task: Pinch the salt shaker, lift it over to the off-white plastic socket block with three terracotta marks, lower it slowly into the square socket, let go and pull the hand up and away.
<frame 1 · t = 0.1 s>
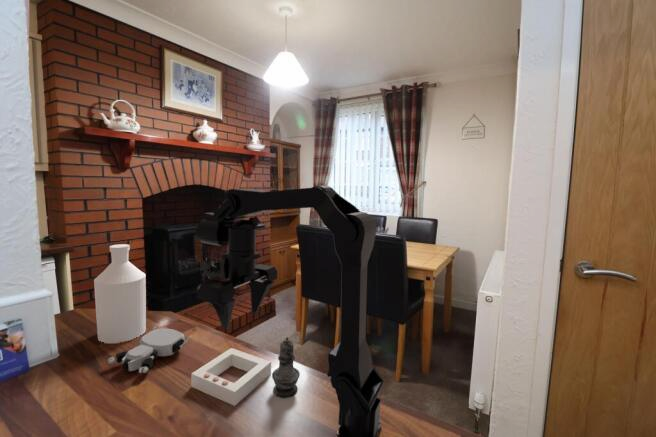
hand: (240, 319, 68), 15 cm above the table, tool pointing down, fingers open, 9 cm apart
socket block: (232, 380, 70), on the table
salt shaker: (285, 390, 68), on the table
bottle: (122, 333, 89), on the table
robot toy: (152, 359, 77), on the table
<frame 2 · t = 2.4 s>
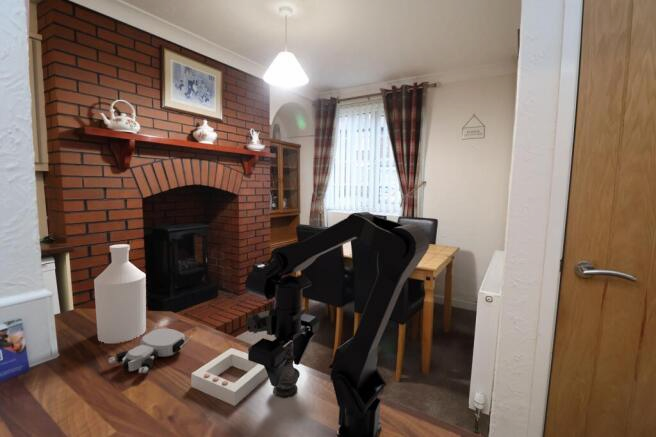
hand: (285, 374, 67), 4 cm above the table, tool pointing down, fingers closed on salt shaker, 8 cm apart
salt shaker: (285, 390, 68), on the table, touching gripper
everything else where it was.
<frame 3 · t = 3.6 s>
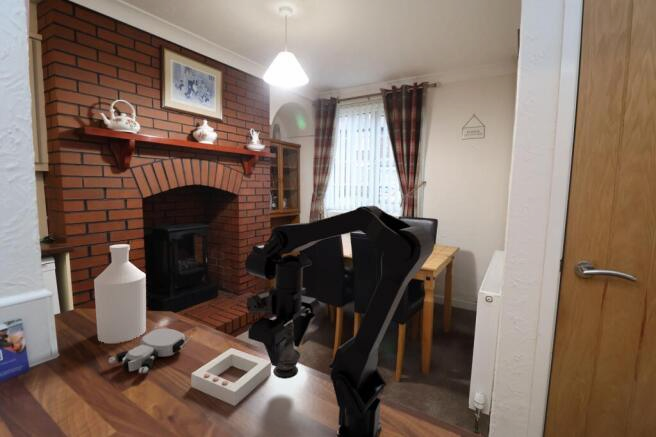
hand: (286, 355, 67), 8 cm above the table, tool pointing down, fingers closed on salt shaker, 8 cm apart
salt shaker: (285, 371, 67), point 4 cm above the table, touching gripper
everything else where it was.
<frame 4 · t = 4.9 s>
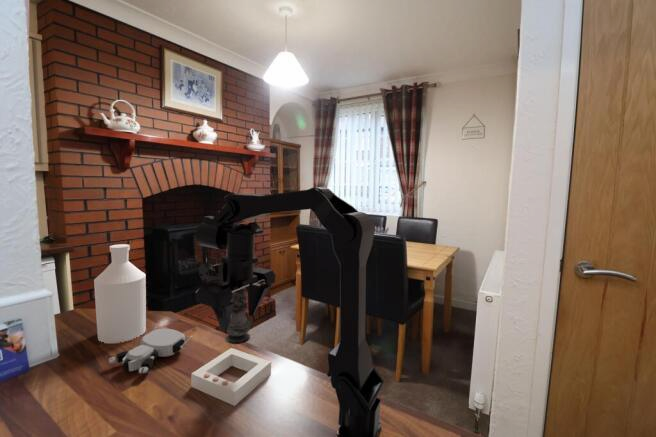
hand: (238, 322, 69), 13 cm above the table, tool pointing down, fingers closed on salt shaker, 8 cm apart
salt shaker: (238, 338, 69), point 10 cm above the table, touching gripper
everything else where it was.
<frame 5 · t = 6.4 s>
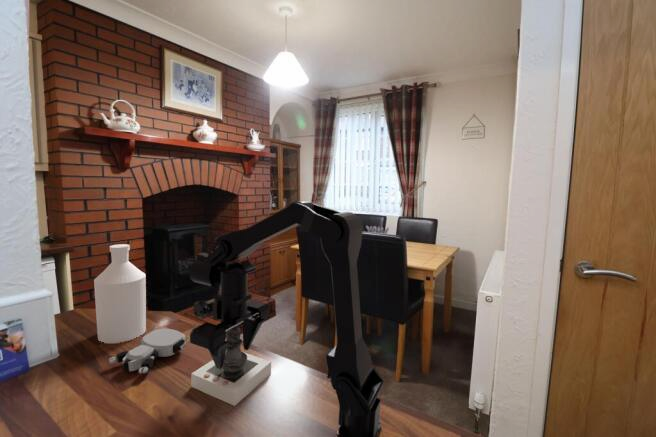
hand: (233, 358, 70), 5 cm above the table, tool pointing down, fingers closed on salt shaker, 8 cm apart
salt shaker: (233, 374, 70), point 1 cm above the table, touching gripper
everything else where it was.
when the fingers open (5 cm above the table, at t = 7.5 s): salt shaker drops 1 cm, resting in socket block.
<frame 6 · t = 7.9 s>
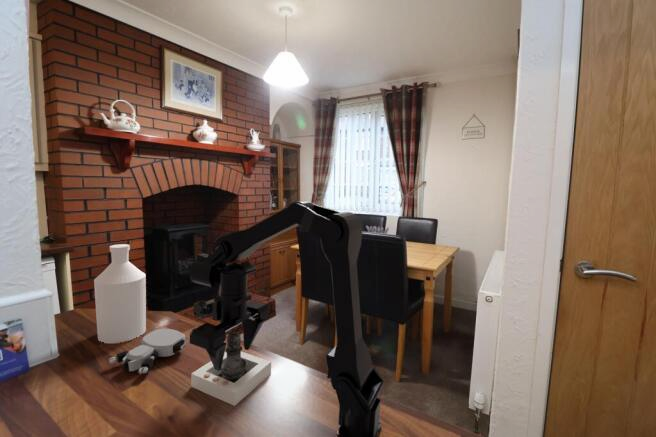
hand: (232, 359, 70), 5 cm above the table, tool pointing down, fingers open, 9 cm apart
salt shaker: (233, 381, 70), resting in socket block
everything else where it was.
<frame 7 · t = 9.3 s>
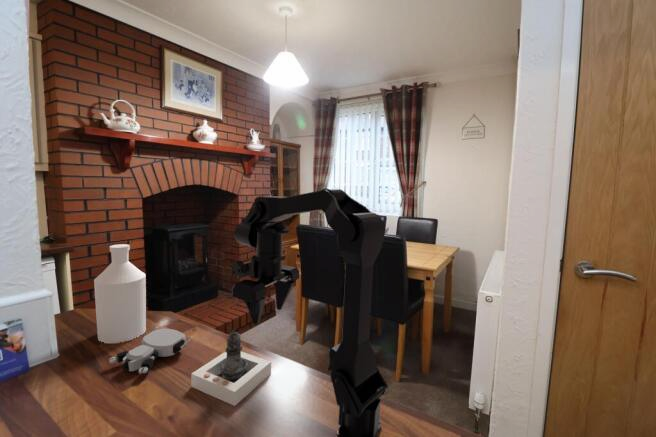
hand: (268, 316, 74), 13 cm above the table, tool pointing down, fingers open, 9 cm apart
nothing on the table moved.
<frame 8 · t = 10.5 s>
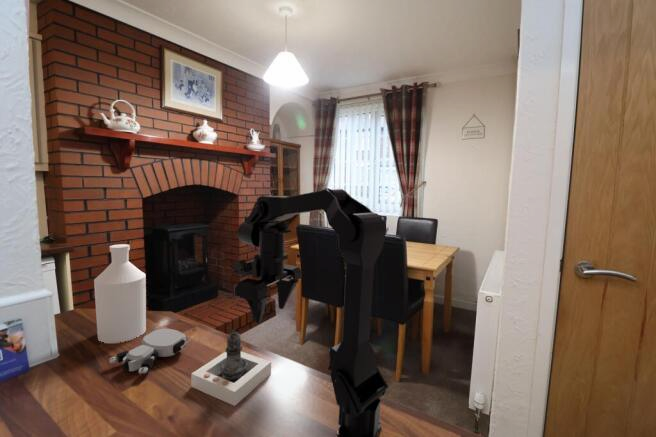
hand: (270, 315, 74), 13 cm above the table, tool pointing down, fingers open, 9 cm apart
nothing on the table moved.
at the end: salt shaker 0.2 cm off-centre on the socket block, point 0.0 cm above the socket block's base; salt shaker tilted 0°; the gripper is holding nothing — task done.
